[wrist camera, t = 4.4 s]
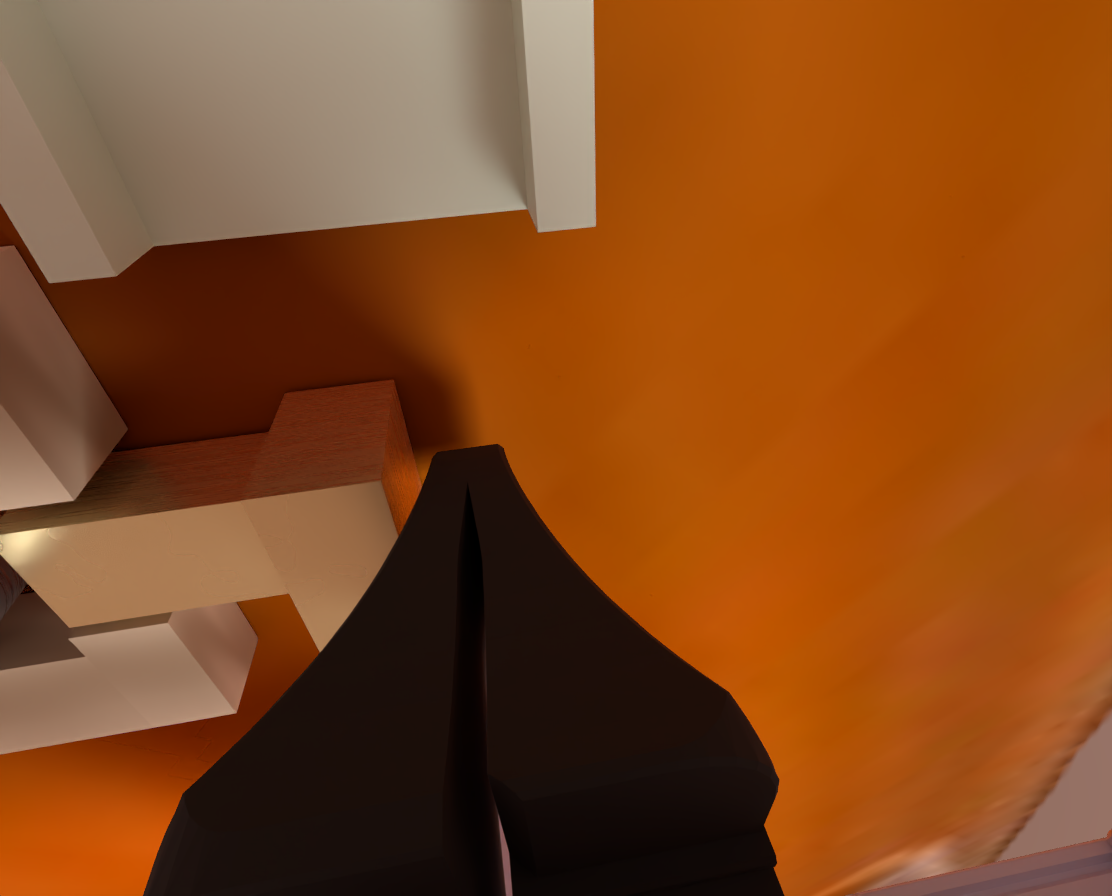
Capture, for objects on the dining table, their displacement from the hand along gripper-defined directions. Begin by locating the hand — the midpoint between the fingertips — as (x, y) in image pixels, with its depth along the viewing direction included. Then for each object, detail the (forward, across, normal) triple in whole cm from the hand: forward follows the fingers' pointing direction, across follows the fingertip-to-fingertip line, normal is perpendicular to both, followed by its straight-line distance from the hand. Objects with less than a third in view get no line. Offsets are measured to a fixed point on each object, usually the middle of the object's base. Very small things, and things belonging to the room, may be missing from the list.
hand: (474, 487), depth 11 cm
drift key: (+1, +5, 0) cm, 5 cm away
